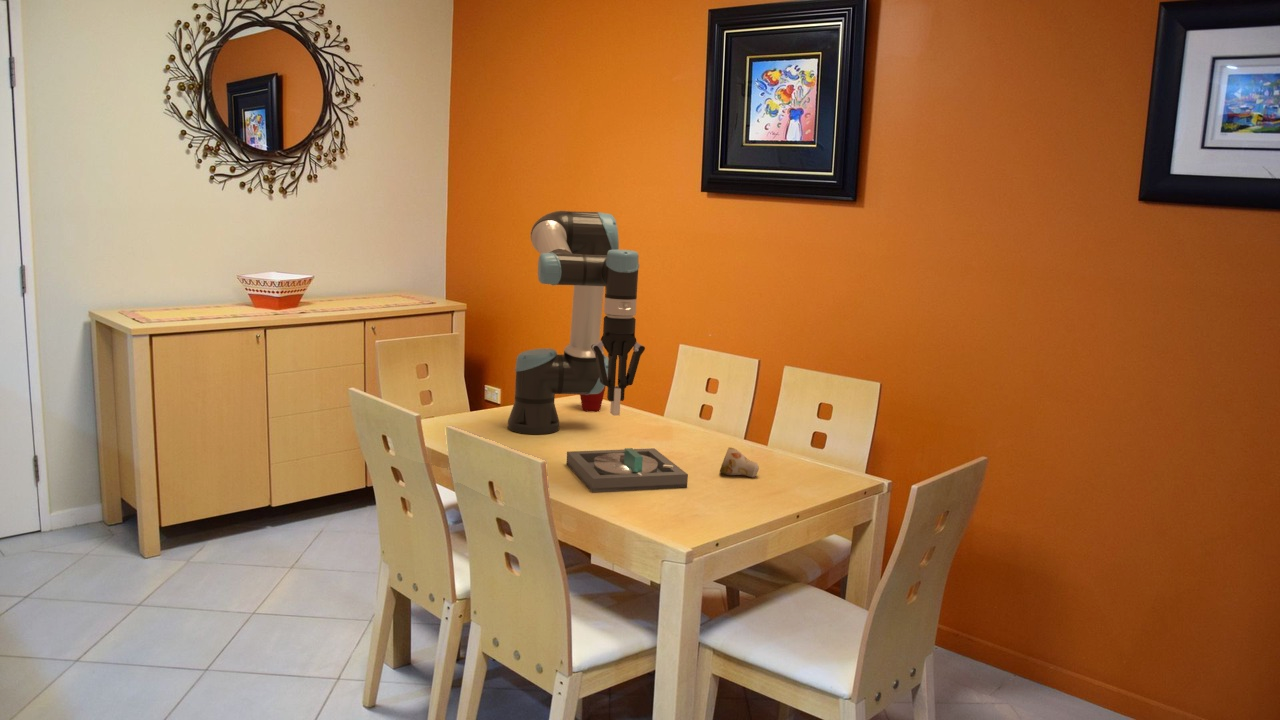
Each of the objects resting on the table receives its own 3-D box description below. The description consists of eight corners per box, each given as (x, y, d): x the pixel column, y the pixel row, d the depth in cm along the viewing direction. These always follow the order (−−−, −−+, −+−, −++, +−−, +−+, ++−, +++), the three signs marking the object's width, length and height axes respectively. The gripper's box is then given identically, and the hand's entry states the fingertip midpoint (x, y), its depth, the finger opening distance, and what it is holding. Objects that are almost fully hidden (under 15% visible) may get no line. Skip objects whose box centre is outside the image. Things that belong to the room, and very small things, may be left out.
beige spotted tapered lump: (760, 482, 245) (743, 449, 243) (726, 493, 249) (709, 460, 247) (765, 468, 252) (748, 435, 249) (731, 478, 256) (715, 446, 253)
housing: (566, 464, 251) (567, 450, 250) (653, 460, 259) (654, 446, 258) (592, 492, 228) (593, 477, 228) (687, 487, 236) (688, 472, 236)
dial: (585, 463, 248) (586, 439, 247) (644, 461, 253) (646, 437, 252) (605, 483, 232) (607, 458, 231) (668, 480, 237) (669, 455, 236)
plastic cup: (601, 405, 321) (602, 370, 319) (612, 413, 311) (614, 376, 309) (569, 406, 317) (571, 370, 315) (580, 414, 307) (581, 377, 305)
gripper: (597, 317, 222) (593, 418, 226) (651, 318, 226) (645, 417, 230) (588, 313, 229) (584, 411, 233) (640, 314, 233) (635, 410, 237)
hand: (614, 414), depth 231 cm, fingers closed
